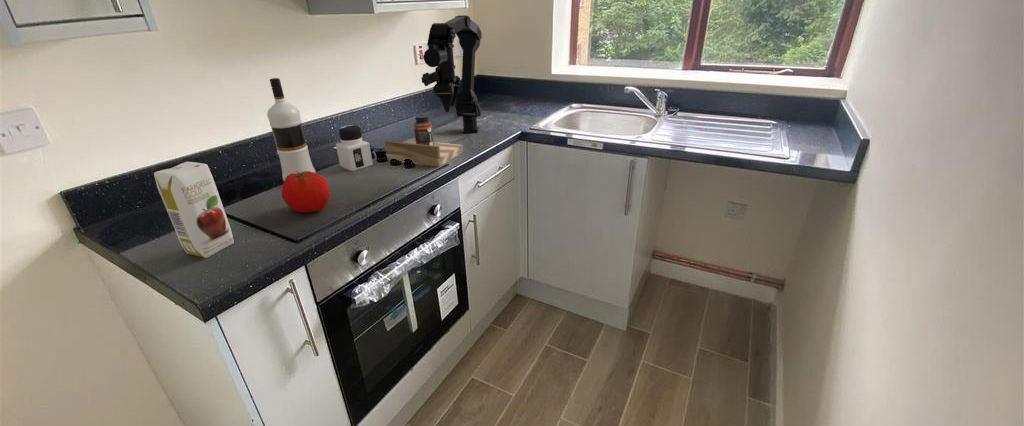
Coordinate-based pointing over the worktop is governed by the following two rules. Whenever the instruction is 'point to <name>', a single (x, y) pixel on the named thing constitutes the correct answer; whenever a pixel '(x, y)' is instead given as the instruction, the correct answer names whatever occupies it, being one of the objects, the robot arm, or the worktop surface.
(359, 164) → the container
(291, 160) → the vodka
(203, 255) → the juice carton
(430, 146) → the wooden block
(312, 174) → the tomato
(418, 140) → the supplement bottle
